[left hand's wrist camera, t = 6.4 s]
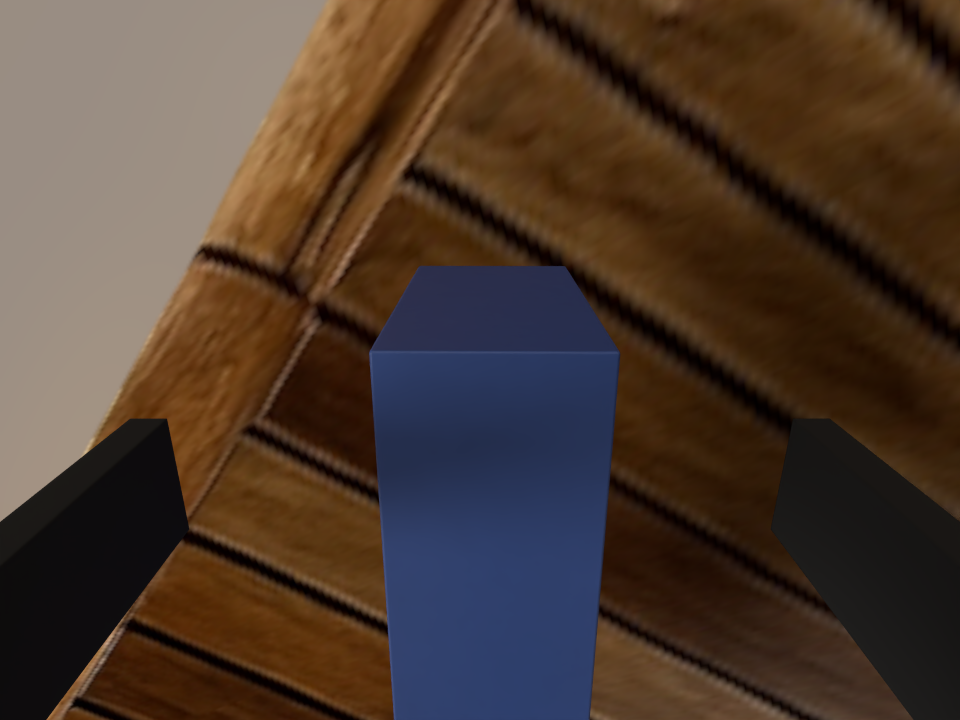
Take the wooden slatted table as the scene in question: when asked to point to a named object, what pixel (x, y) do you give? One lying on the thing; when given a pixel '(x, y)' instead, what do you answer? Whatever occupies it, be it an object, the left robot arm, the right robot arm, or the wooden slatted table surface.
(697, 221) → the wooden slatted table surface
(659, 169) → the wooden slatted table surface
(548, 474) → the bar
